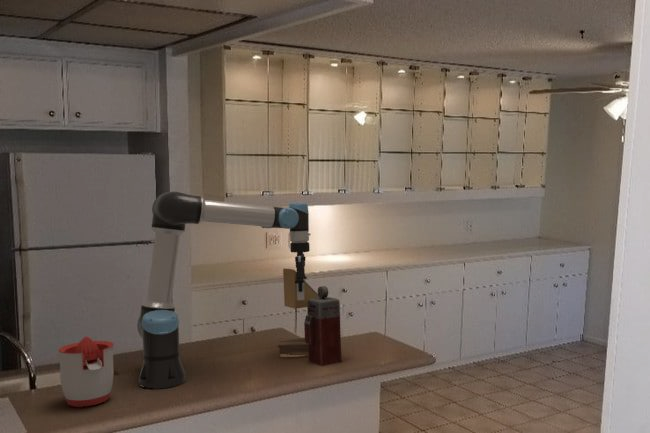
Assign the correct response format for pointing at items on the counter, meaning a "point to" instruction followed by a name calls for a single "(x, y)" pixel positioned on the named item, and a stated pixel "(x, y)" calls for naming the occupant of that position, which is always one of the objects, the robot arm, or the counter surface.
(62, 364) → the citrus juicer
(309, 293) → the sandwich container
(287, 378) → the counter surface
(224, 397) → the counter surface
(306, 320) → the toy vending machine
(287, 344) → the walnut stand
